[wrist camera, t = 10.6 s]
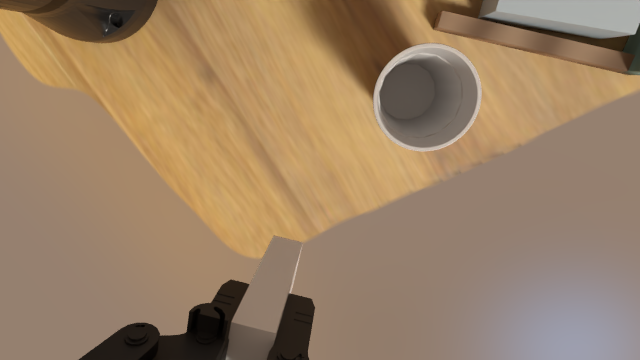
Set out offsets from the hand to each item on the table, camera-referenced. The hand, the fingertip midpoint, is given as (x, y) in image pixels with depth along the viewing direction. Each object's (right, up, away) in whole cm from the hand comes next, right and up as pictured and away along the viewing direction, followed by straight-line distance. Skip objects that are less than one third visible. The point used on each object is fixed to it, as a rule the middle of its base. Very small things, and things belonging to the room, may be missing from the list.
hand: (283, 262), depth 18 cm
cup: (+11, +14, +21) cm, 27 cm away
